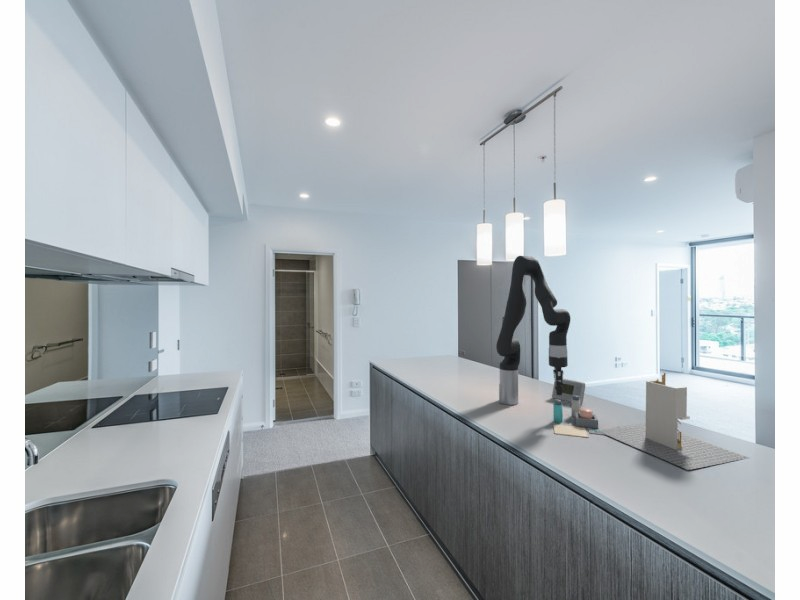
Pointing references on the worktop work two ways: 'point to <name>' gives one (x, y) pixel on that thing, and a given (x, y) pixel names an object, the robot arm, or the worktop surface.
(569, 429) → the sketch pad
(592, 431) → the card
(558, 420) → the marker teal
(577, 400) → the marker grey
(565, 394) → the digital clock
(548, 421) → the worktop surface
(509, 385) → the robot arm
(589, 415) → the button
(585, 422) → the button housing
